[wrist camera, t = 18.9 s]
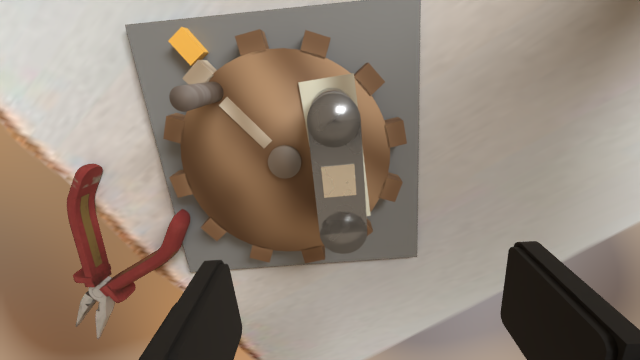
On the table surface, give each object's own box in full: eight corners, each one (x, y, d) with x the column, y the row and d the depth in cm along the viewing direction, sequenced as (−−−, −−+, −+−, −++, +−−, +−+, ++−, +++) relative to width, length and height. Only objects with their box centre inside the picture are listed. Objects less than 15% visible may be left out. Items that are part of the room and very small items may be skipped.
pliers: (51, 301, 37) (29, 317, 35) (92, 156, 31) (69, 163, 28) (140, 345, 38) (125, 364, 35) (199, 211, 31) (186, 223, 29)
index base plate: (417, -4, 26) (425, -10, 24) (414, 252, 34) (420, 263, 32) (130, 26, 27) (115, 23, 25) (193, 267, 35) (185, 279, 33)
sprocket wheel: (284, -31, 24) (266, -75, 17) (447, 158, 29) (490, 189, 22) (129, 151, 30) (61, 180, 22) (290, 287, 34) (280, 349, 27)
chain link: (351, 85, 25) (359, 90, 19) (360, 215, 29) (368, 252, 23) (308, 90, 25) (303, 96, 20) (322, 218, 29) (322, 256, 23)
